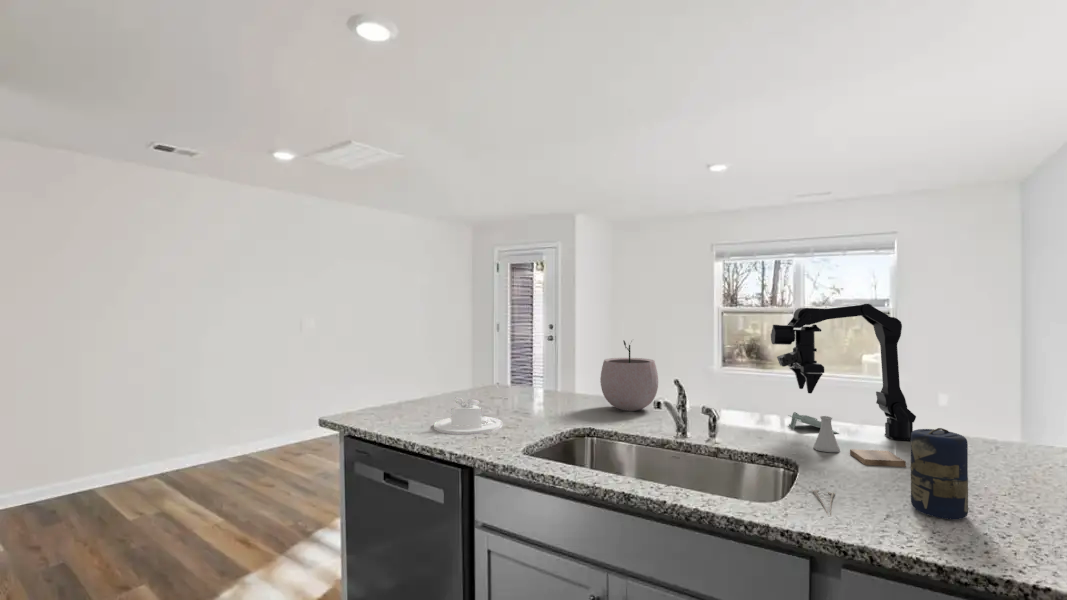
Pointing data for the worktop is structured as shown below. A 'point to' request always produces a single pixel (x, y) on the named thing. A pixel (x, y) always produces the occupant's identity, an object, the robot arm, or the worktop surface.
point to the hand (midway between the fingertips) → (805, 391)
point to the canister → (939, 473)
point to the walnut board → (877, 458)
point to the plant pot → (629, 382)
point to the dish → (467, 419)
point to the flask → (826, 437)
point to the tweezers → (822, 501)
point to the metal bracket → (805, 421)
